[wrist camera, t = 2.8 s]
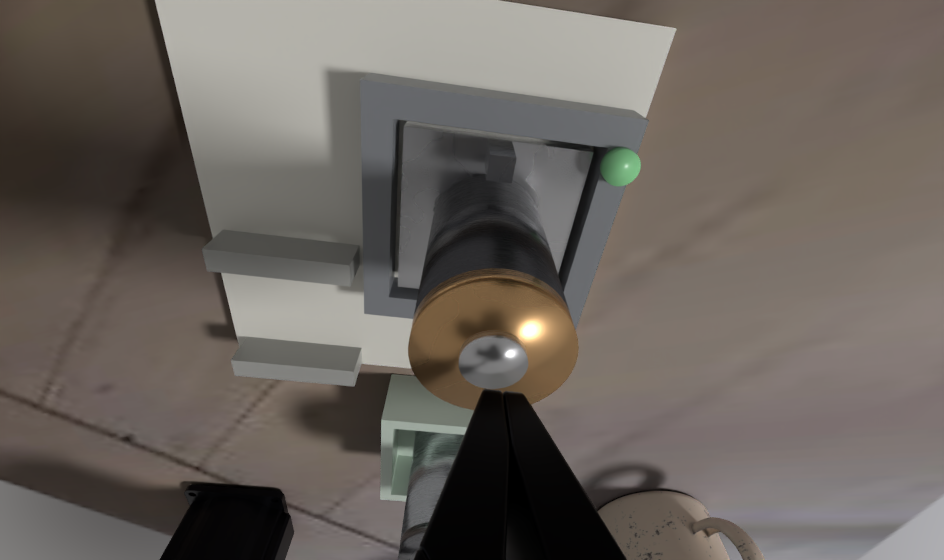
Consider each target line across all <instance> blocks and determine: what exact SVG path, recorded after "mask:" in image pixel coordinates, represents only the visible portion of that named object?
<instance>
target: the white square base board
mask: <svg viewBox="0 0 944 560" xmlns="http://www.w3.org/2000/svg"><path fill="white" fill-rule="evenodd" d="M155 3H156V7H157V11H158V15H159V19H160V23H161V27H162V31H163V36H164V40H165V44H166V48H167V52H168V56H169V60H170V64H171V69H172V73H173V77H174V81H175V85H176V89H177V93H178V97H179V101H180V106H181V110H182V114H183V118H184V122H185V126H186V130H187V134H188V138H189V143H190V147H191V151H192V155H193V159H194V163H195V167H196V171H197V175H198V180H199V184H200V188H201V192H202V196H203V200H204V204H205V208H206V212H207V217H208V221H209V225H210V229H211V233H212V237H213V239H212V240H211V241H210V242H209V243H208V244H206V245H205V246H204V247H203V248H202V253H203V257H204V260H205V264H206V268H207V271H210V272H219V273H221V274H222V278H223V282H224V287H225V291H226V295H227V299H228V303H229V307H230V311H231V315H232V319H233V324H234V328H235V332H236V336H237V340H238V344H239V349H238V350H237V352H236V353H235V355H234V356H233V358H232V359H231V363H232V366H233V370H234V374H235V376H245V377H256V378H267V379H278V380H289V381H299V382H310V383H321V384H332V385H343V386H355V383H356V380H357V377H358V373H359V370H360V367H361V364H370V365H381V366H391V367H401V368H411V365H410V362H409V357H408V344H409V338H410V333H411V328H412V322H413V317H414V312H415V307H416V302H417V297H418V292H419V289H416V288H407V287H398V266H399V239H400V213H401V186H402V160H403V133H404V125H405V124H406V122H407V121H411V122H418V123H426V124H433V125H440V126H448V127H455V128H463V129H470V130H477V131H485V132H492V133H499V134H507V135H514V136H522V137H529V138H536V139H544V140H551V141H558V142H566V143H573V144H580V145H588V146H589V147H590V148H591V149H592V151H593V152H594V153H593V157H592V160H591V163H590V167H589V170H588V174H587V177H586V181H585V184H584V187H583V191H582V194H581V198H580V201H579V205H578V208H577V211H576V215H575V218H574V222H573V225H572V229H571V232H570V235H569V239H568V242H567V246H566V249H565V253H564V256H563V259H562V263H561V266H560V270H559V273H558V276H559V279H560V282H561V286H562V289H563V292H564V295H565V298H566V302H567V305H568V308H569V311H570V315H571V318H572V321H573V324H574V327H575V330H576V327H577V324H578V322H579V319H580V316H581V313H582V310H583V307H584V304H585V302H586V299H587V296H588V293H589V290H590V287H591V284H592V282H593V279H594V276H595V273H596V270H597V267H598V264H599V262H600V259H601V256H602V253H603V250H604V247H605V244H606V242H607V239H608V236H609V233H610V230H611V227H612V224H613V222H614V219H615V216H616V213H617V210H618V207H619V204H620V202H621V199H622V196H623V193H624V190H625V187H626V185H627V184H629V183H631V182H632V181H633V180H634V179H635V178H636V177H637V175H638V174H639V171H640V167H641V163H640V159H639V157H638V156H637V153H638V150H639V147H640V144H641V142H642V139H643V136H644V133H645V130H646V127H647V124H648V122H649V120H648V119H646V116H647V113H648V110H649V107H650V104H651V101H652V98H653V95H654V92H655V89H656V87H657V84H658V81H659V78H660V75H661V72H662V69H663V66H664V63H665V60H666V58H667V55H668V52H669V49H670V46H671V43H672V40H673V37H674V34H675V31H676V29H677V28H671V27H665V26H659V25H652V24H646V23H640V22H633V21H627V20H621V19H614V18H608V17H602V16H595V15H589V14H583V13H576V12H570V11H564V10H557V9H551V8H544V7H538V6H532V5H525V4H519V3H513V2H506V1H500V0H155Z"/></svg>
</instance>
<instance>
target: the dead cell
mask: <svg viewBox="0 0 944 560" xmlns="http://www.w3.org/2000/svg"><path fill="white" fill-rule="evenodd" d="M463 437H464V435H461V434H449V433H437V432H426V431H416V432H415V439H414V447H413V454H412V461H411V469H410V476H409V483H408V490H407V498H406V505H405V512H404V519H403V527H402V534H401V541H400V548H399V556H398V559H399V560H414V557H415V555H416V552H417V550H419V547H420V543H421V541H422V538H423V536H424V533H425V531H426V528H427V526H428V523H429V521H430V518H431V516H432V513H433V511H434V509H435V506H436V504H437V501H438V499H439V496H440V494H441V491H442V489H443V486H444V484H445V481H446V479H447V476H448V474H449V471H450V469H451V466H452V464H453V462H454V459H455V457H456V454H457V452H458V449H459V447H460V444H461V442H462V439H463Z"/></svg>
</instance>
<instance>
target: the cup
mask: <svg viewBox="0 0 944 560" xmlns="http://www.w3.org/2000/svg"><path fill="white" fill-rule="evenodd" d="M473 412H474V410H470V409H465V408H461V407H458V406H455V405H452V404H450V403H448V402H445V401H443V400H441V399H440V398H438V397H436V396H435V395H433V394H432V393H431V392H429V391H428V390H427V389H426V388H425V387H424V386H423V385H422V384H421V383H420V381H419V380H418V379H417V378H416V376H408V375H397V374H392V375H391V379H390V384H389V388H388V393H387V397H386V402H385V406H384V411H383V415H382V419H381V483H380V499H381V500H394V501H406V498H407V490H408V483H409V476H410V469H411V461H412V454H413V447H414V439H415V432H416V431H426V432H437V433H449V434H461V435H464V434H465V432H466V429H467V427H468V424H469V422H470V419H471V417H472V415H473Z"/></svg>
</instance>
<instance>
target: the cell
mask: <svg viewBox="0 0 944 560" xmlns="http://www.w3.org/2000/svg"><path fill="white" fill-rule="evenodd" d="M408 357H409V362H410V365H411V368H412V370H413V372H414V374H415V376H416V378H417V379H418V380H419V381H420V383H421V384H422V385H423V386H424V387H425V388H426V389H427V390H428V391H429V392H431V393H432V394H433V395H435V396H436V397H438V398H440V399H441V400H443V401H445V402H448V403H450V404H452V405H455V406H458V407H461V408H465V409H470V410H475V407H476V405H477V402H478V400H479V397H480V395H481V392H482V391H483V390H484V389H491V390H500V391H501V392H502V393H503V392H505V391H512V392H521V393H523V394H524V395H525V396H526V398H527V399H528V401H529V403H530V404H533V403H535V402H538V401H540V400H542V399H543V398H545V397H547V396H549V395H550V394H551V393H553V392H554V391H555V390H557V389H558V388H559V387H560V386H561V385H562V384H563V383H564V382H565V381H566V380H567V378H568V377H569V375H570V374H571V372H572V370H573V368H574V366H575V364H576V360H577V357H578V338H577V334H576V331H575V327H574V324H573V321H572V318H571V315H570V311H569V308H568V305H567V302H566V298H565V295H564V292H563V289H562V286H561V282H560V279H559V276H558V273H557V269H556V266H555V263H554V260H553V257H552V253H551V250H550V247H549V244H548V241H547V237H546V234H545V231H544V228H543V224H542V221H541V218H540V215H539V212H538V208H537V206H536V203H535V201H534V200H533V198H532V196H531V195H530V194H529V192H528V191H527V190H526V189H525V188H524V187H522V186H521V185H520V184H518V183H517V182H515V181H513V180H512V183H504V182H496V181H488V180H486V174H480V175H474V176H470V177H467V178H465V179H463V180H460V181H458V182H457V183H455V184H454V185H452V186H451V187H450V188H449V189H448V190H447V191H446V192H445V193H444V194H443V195H442V197H441V198H440V200H439V201H438V203H437V205H436V208H435V211H434V215H433V220H432V225H431V230H430V235H429V240H428V246H427V251H426V256H425V261H424V266H423V271H422V276H421V281H420V287H419V292H418V297H417V302H416V307H415V312H414V317H413V322H412V328H411V333H410V338H409V344H408Z"/></svg>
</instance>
